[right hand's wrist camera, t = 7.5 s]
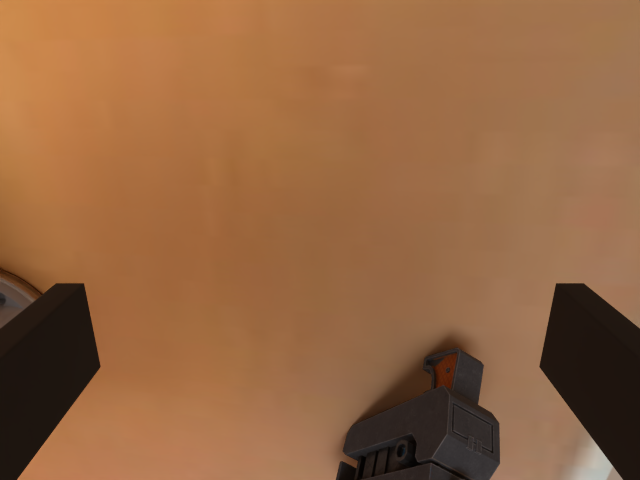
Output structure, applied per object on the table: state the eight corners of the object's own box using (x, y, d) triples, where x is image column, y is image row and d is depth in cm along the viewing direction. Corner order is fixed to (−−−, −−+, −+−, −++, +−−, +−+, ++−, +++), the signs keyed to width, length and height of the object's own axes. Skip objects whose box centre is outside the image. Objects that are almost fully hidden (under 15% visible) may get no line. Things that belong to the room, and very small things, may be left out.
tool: (505, 358, 42) (504, 542, 32) (385, 408, 56) (359, 547, 46) (453, 327, 41) (437, 507, 31) (344, 386, 55) (308, 523, 45)
